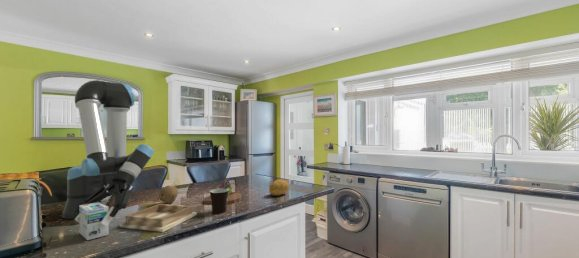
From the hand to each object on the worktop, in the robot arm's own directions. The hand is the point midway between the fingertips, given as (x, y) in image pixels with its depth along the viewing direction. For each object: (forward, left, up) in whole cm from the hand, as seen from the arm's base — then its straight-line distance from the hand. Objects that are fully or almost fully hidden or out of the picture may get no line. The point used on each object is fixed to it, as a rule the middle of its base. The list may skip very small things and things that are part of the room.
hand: (90, 223), depth 94 cm
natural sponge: (-3, +44, -5) cm, 44 cm away
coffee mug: (+31, +40, -5) cm, 50 cm away
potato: (+49, +76, -5) cm, 90 cm away
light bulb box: (0, +1, -5) cm, 5 cm away
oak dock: (+13, +21, -5) cm, 25 cm away
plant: (+22, +58, -5) cm, 62 cm away
